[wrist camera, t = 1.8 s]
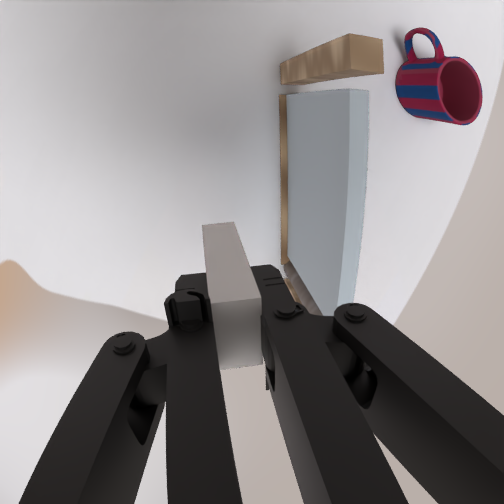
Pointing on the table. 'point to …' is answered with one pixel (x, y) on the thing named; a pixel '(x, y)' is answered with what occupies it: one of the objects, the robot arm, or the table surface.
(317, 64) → the doorframe
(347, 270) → the door
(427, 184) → the table surface
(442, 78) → the mug
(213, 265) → the robot arm
